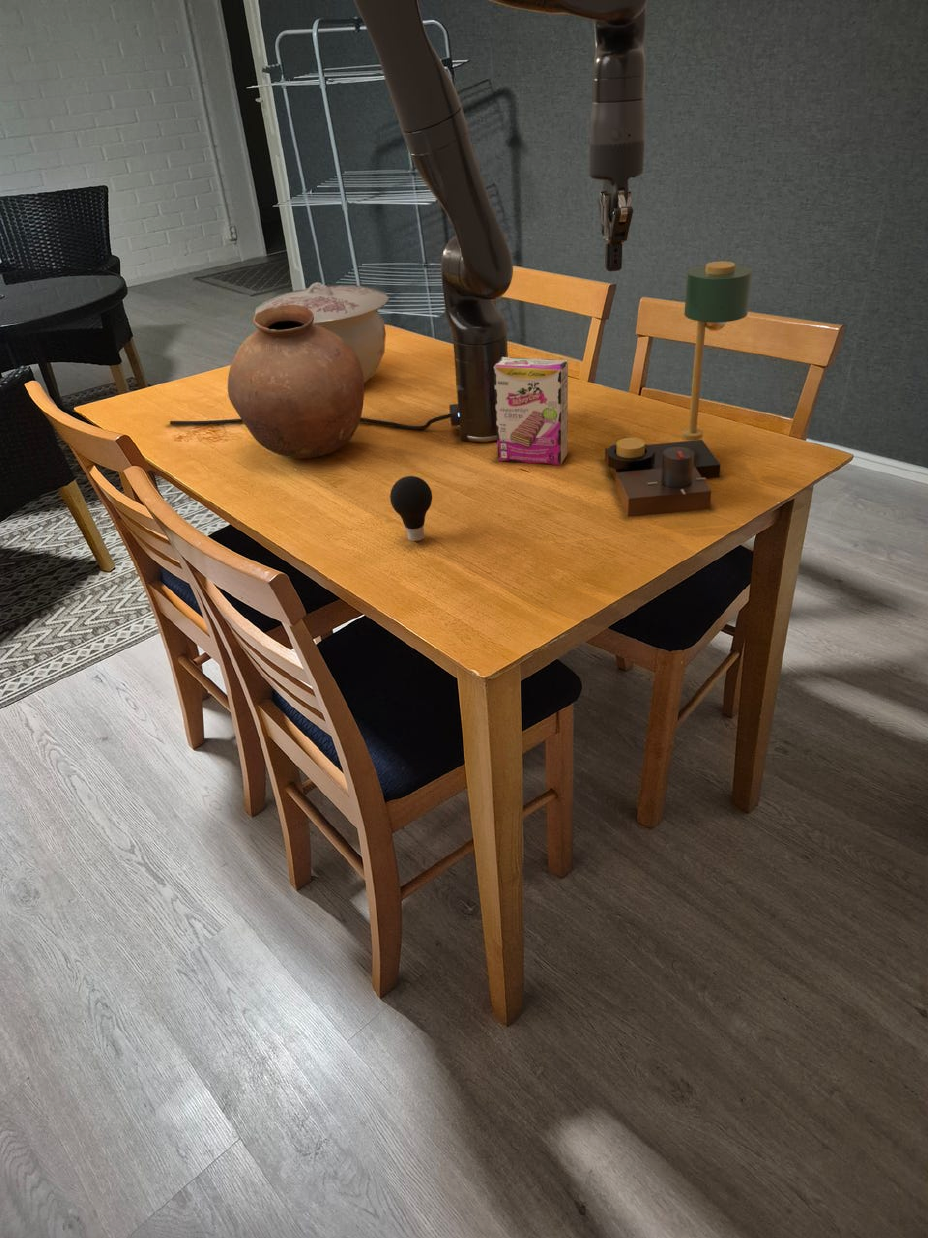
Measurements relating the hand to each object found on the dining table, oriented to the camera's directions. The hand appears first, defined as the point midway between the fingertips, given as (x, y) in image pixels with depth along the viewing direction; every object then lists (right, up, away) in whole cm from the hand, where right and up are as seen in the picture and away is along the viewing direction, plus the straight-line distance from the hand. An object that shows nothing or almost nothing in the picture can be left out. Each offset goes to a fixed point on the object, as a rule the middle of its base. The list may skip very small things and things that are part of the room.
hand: (613, 269), depth 127 cm
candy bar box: (-11, -26, +16) cm, 32 cm away
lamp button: (+4, -27, +6) cm, 27 cm away
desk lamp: (+16, -23, +8) cm, 29 cm away
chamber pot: (-50, -2, +56) cm, 75 cm away
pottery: (-50, -23, +25) cm, 61 cm away
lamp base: (+9, -29, +9) cm, 31 cm away
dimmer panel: (+7, -35, 0) cm, 35 cm away
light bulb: (-29, -42, -5) cm, 51 cm away
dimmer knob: (+9, -32, -2) cm, 34 cm away
